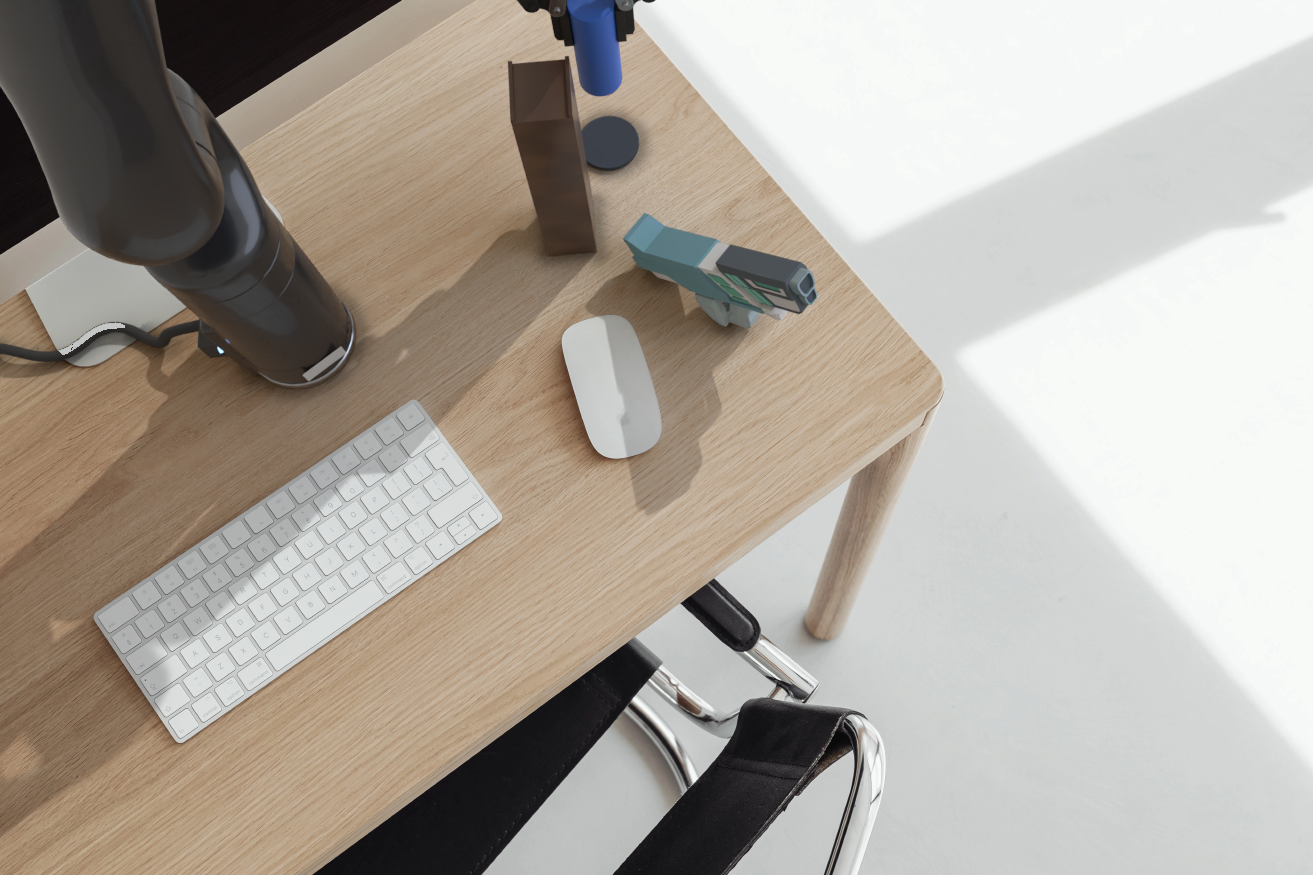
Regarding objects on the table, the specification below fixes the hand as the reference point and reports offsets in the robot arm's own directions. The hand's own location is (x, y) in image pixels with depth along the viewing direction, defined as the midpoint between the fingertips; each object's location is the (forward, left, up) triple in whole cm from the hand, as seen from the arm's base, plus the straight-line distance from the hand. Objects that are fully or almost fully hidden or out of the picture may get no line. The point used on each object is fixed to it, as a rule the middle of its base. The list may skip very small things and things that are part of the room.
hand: (595, 34), depth 78 cm
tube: (0, 0, -1) cm, 1 cm away
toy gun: (+8, -17, -15) cm, 24 cm away
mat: (0, 0, -15) cm, 15 cm away
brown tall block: (-4, -8, -15) cm, 18 cm away
